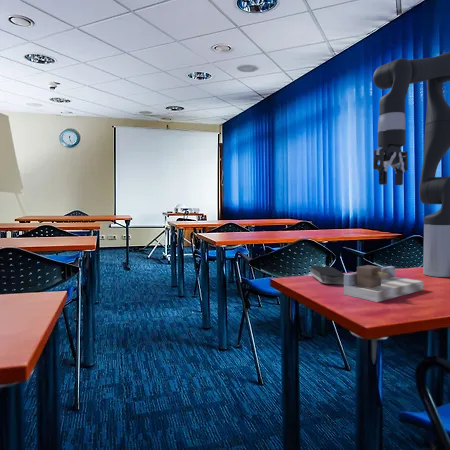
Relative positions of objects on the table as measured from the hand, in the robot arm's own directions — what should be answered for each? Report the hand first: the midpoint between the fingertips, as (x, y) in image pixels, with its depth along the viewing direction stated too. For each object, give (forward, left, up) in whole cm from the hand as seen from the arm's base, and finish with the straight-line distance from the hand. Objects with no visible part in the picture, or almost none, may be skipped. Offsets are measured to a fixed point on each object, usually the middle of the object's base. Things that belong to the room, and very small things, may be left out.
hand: (390, 184), depth 110 cm
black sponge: (+10, -16, -31) cm, 36 cm away
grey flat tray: (+11, +5, -30) cm, 32 cm away
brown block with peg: (+17, +6, -28) cm, 33 cm away
